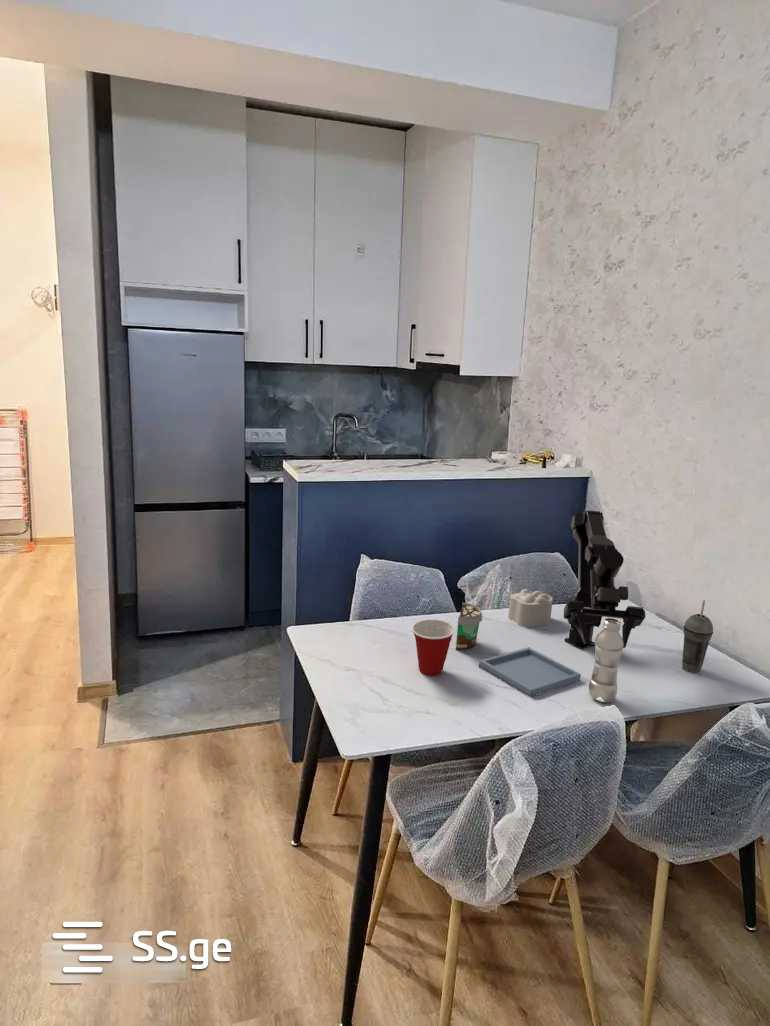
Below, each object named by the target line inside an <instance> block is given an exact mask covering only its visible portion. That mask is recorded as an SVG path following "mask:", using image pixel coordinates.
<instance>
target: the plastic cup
mask: <svg viewBox="0 0 770 1026" xmlns="http://www.w3.org/2000/svg"><path fill="white" fill-rule="evenodd" d="M455 631H456V628H455V625H454V624H452V623H451V622H448V621H446V620H442V619H437V618H436V619H434V618H432V619H431V618H429V619H428V618H427V619H426V618H425V619H422V620H418V621H417V622H415V623H413V625H412V626H411V632H412V633H413V634H414V639H415V646H416V655H417V662H418V663H417V664H418V670H419V672H420V673H421V674H422V675H425V676H431V677H435V676H439V675H441V674H442V672H443V670H444V667H445V662H446V660H447V656H448V652H449V648H450V644H451V642H452V638H453V635H454V633H455Z"/></svg>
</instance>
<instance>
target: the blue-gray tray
mask: <svg viewBox="0 0 770 1026" xmlns="http://www.w3.org/2000/svg"><path fill="white" fill-rule="evenodd" d="M478 662H479V663H478V667H479V668H480V669H481V670H484V671H486V672H487V673H488V672H489V674H490V675H491V676H494V677H495V678H497V679H498V678H499V680H500V679H501V680H500V681H501V682H504V683H505V682H506V683H505V684H507V685H509V686H510V685H511V687H513V688H514V689H515V688H516V689H515V690H517V691H519V692H520V691H521V693H522V692H523V695H525V694H526V696H527V695H528V696H527V697H529V698H530V696H531V697H534V696H537V695H536V694H538V695H540V694H539V693H541V694H543V692H544V693H547V692H549V690H550V691H552V689H553V690H555V688H556V689H558V688H561V687H565V686H567V685H572V684H574V683H576V682H580V681H581V676H582V674H581V673H580V672H578V671H575V670H574V669H571V667H568V666H566V665H564V664H562V663H560V662H559V661H556V660H554V659H553V658H551V657H549V656H547V655H544V654H543V653H541V652H539V651H537V650H536V649H533V648H531V647H529V646H528V647H524V648H520V649H517V650H512V651H510V652H506V653H502V654H498V655H494V656H490V657H487V658H483V659H479V661H478ZM546 691H547V692H546ZM533 695H534V696H533Z"/></svg>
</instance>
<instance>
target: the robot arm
mask: <svg viewBox="0 0 770 1026" xmlns="http://www.w3.org/2000/svg"><path fill="white" fill-rule="evenodd" d="M603 515H604V514H603V512H601V511H599V510H588V509H587V510H583V512H580V513H576V514H574V515H573V516H572V518H571V522H570V529H571V530H572V536H573V539H574V540H575V542H576V544H577V545H578V547H577V548H578V549H577V551H578V552H577V553H578V555H577V557H578V558H577V560H578V563H577V565H578V566H577V569H578V570H577V592H576V594H575V595H574V597H573V598H572V599H568V600H567V602H566V603H565V606H564V608H563V618H564V619H565V620H567V622H568V625H570V628H569V633H568V637H566V638H564V642H566V643H568V644H570V645H572V646H574V647H577V648H579V649H581V650H582V649H586V648H590V647H595V641H593V635H594V627H597V628H600V625H601V623H602V620H603V619H602V618H603V617H606V618H613V619H622V622H623V623H622V626H621V628H622V629H621V630H622V631H621V632H622V633H621V634H622V635H621V637H622V639H623V643H624V646H623V649H625V648H626V647H627V644H628V641H629V637H630V634H631V632H632V629H635V628H636V627H639V626H641V624H642V623H643V622H644V620H645V619H646V610H645V609H644V608H643V606H632V605H628V606H627V607H626V609H625V610H621V609H617V608H618V607H619V603H621V601H627V600H628V599H629V587H628V586H624V585H623V586H621V585H620V586H618V588H616V586H615V578H616V577H617V575H618V574H619V571H620V569H621V568H622V566H623V564H624V561H625V560H624V556H623V555H622V553H621V552H620V551H619V550H618V549H617V548H616V544H614V541H613V540H611V539H609V538H608V536H607V534H606V529H605V526H604V521H605V519H604V516H603Z"/></svg>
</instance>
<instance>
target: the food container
mask: <svg viewBox="0 0 770 1026" xmlns="http://www.w3.org/2000/svg"><path fill="white" fill-rule="evenodd" d="M482 621H483V613H482V610H481V609H480V607H478V606H476V605H474V604H472V603H468V602H462V605H461V610H460V614H459V616H458V620H457V629H456V630H457V631H456V642H455V643H456V644H455V650H456V651H467V650H472V649H474V648H475V647H476V646H477V645H476V644H477V640H478V639H477V637H478V633H479V627H480V623H481V622H482Z"/></svg>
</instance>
